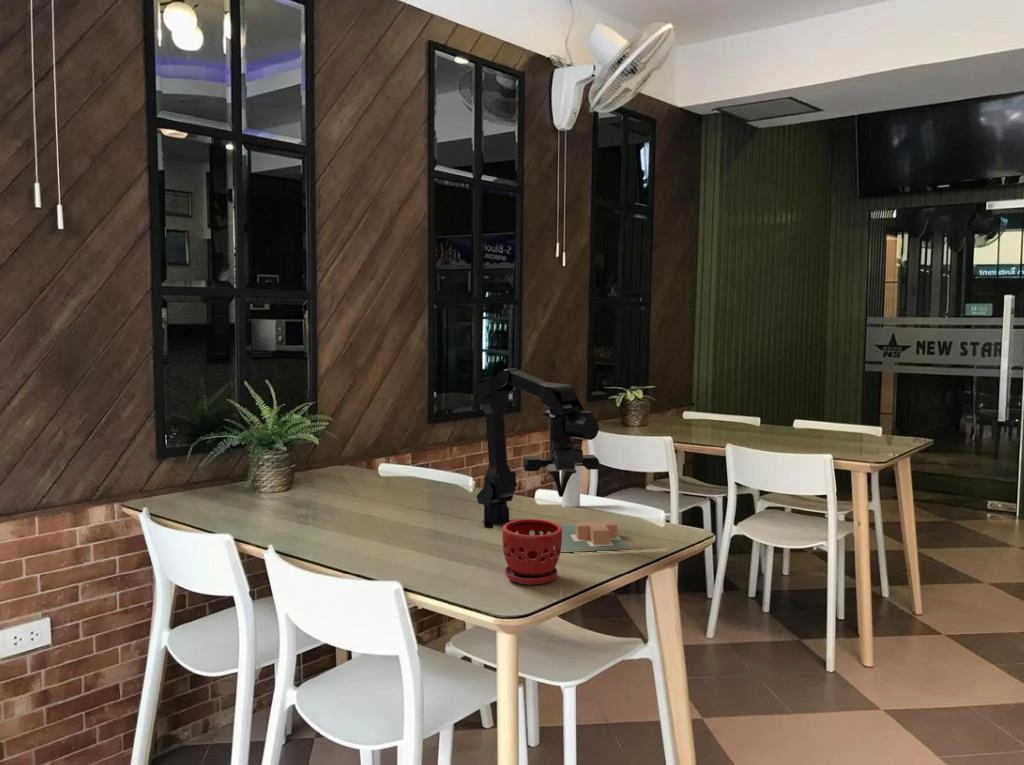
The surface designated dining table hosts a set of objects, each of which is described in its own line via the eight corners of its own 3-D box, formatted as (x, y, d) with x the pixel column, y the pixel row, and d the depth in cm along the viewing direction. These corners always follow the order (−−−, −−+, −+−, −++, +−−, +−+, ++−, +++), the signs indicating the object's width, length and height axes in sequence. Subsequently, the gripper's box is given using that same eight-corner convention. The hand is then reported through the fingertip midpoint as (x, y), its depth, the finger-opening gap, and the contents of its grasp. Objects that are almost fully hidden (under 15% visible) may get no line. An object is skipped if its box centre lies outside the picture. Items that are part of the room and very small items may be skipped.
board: (537, 554, 205) (537, 551, 205) (524, 528, 229) (524, 525, 229) (630, 550, 208) (630, 547, 207) (608, 525, 231) (608, 522, 231)
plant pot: (493, 585, 184) (493, 530, 182) (515, 567, 196) (514, 516, 195) (551, 591, 179) (551, 536, 178) (569, 573, 191) (569, 521, 190)
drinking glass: (580, 510, 248) (580, 460, 246) (557, 509, 249) (557, 459, 248) (583, 505, 254) (583, 455, 253) (561, 504, 256) (561, 455, 254)
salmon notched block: (581, 545, 210) (581, 531, 209) (575, 535, 219) (575, 522, 218) (621, 543, 211) (621, 530, 210) (613, 534, 220) (613, 520, 219)
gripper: (527, 441, 204) (528, 505, 205) (604, 439, 206) (603, 502, 207) (522, 434, 215) (522, 495, 216) (594, 432, 217) (594, 492, 218)
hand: (560, 496), depth 214 cm, fingers closed
